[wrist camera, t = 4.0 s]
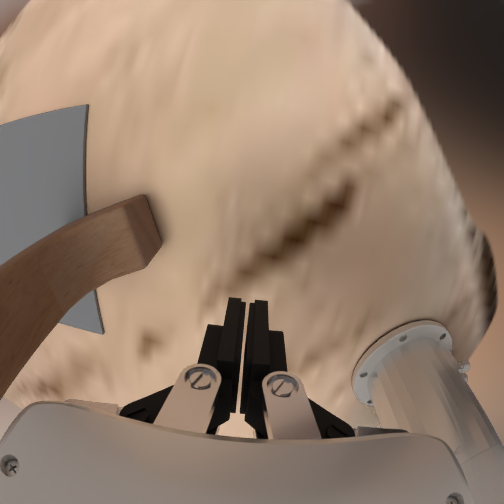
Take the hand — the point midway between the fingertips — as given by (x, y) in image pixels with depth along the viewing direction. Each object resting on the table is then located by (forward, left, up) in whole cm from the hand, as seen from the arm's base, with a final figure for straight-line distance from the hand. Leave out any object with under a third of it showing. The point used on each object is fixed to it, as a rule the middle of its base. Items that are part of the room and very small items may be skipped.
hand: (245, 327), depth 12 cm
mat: (+25, 0, -10) cm, 27 cm away
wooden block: (+12, 0, -10) cm, 16 cm away
